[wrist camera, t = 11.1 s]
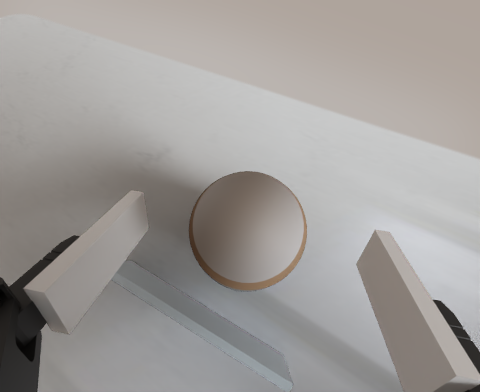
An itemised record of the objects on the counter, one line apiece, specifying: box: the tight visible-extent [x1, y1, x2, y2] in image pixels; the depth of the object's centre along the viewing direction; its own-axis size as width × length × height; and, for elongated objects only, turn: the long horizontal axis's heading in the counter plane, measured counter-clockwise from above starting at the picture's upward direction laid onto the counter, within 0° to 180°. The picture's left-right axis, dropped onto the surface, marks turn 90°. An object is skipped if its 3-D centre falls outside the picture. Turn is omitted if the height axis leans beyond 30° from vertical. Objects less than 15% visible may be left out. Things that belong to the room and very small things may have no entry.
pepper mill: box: [189, 171, 307, 290], centre depth 14 cm, size 5×5×12 cm
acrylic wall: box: [111, 260, 293, 392], centre depth 17 cm, size 15×1×4 cm, turn 61°
